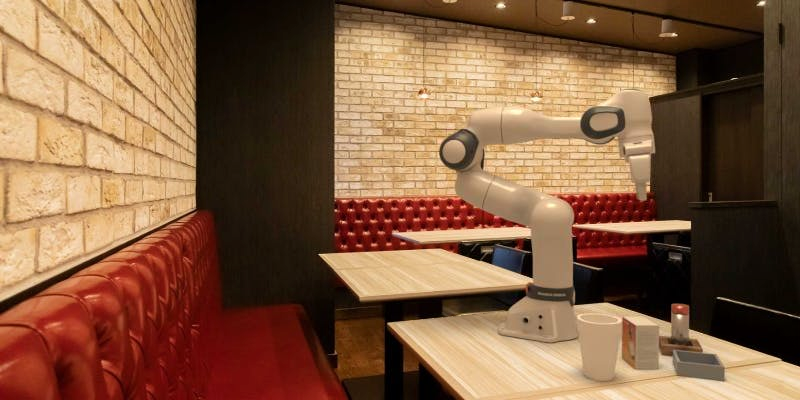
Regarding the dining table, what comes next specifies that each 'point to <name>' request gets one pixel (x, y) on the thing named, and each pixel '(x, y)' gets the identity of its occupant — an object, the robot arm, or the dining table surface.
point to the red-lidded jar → (680, 324)
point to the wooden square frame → (677, 346)
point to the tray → (698, 365)
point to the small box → (640, 342)
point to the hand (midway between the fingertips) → (641, 200)
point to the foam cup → (599, 344)
